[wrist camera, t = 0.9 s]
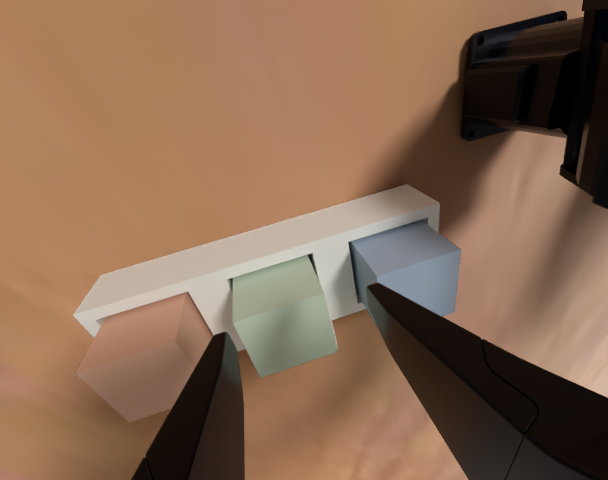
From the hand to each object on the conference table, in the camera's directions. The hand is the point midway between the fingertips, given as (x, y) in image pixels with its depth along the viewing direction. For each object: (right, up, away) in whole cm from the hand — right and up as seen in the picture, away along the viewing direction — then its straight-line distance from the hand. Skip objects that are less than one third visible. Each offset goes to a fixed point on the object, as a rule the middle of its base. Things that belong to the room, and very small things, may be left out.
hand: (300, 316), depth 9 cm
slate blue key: (+6, +2, +12) cm, 13 cm away
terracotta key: (-9, -3, +10) cm, 14 cm away
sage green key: (-2, -1, +11) cm, 11 cm away
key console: (-2, 0, +13) cm, 13 cm away
